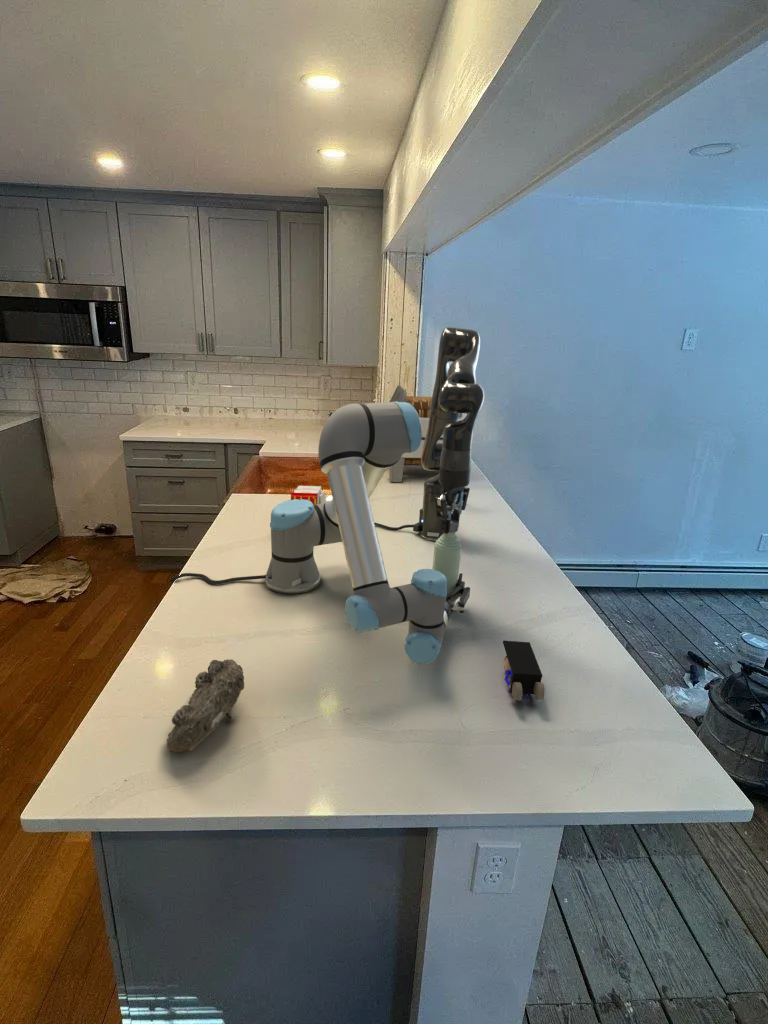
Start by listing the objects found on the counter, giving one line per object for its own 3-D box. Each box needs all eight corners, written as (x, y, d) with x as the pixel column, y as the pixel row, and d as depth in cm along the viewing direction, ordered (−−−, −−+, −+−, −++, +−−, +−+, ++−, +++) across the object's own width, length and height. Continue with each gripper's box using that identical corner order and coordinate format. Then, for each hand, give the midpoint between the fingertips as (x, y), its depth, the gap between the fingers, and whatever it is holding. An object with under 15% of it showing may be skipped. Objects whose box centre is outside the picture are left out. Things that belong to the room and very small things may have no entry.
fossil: (192, 660, 117) (244, 628, 112) (224, 691, 120) (276, 661, 115) (142, 746, 98) (202, 712, 93) (182, 779, 101) (242, 748, 96)
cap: (459, 533, 143) (460, 524, 143) (442, 532, 143) (443, 524, 142) (456, 526, 147) (457, 518, 147) (440, 526, 147) (440, 518, 146)
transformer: (382, 463, 289) (386, 382, 275) (445, 464, 293) (451, 384, 279) (390, 482, 257) (394, 392, 243) (460, 483, 261) (468, 394, 247)
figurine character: (543, 716, 114) (525, 665, 128) (550, 687, 111) (531, 638, 124) (510, 715, 114) (496, 664, 127) (516, 687, 111) (500, 637, 124)
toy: (326, 481, 223) (320, 494, 193) (326, 514, 225) (320, 532, 196) (296, 480, 222) (285, 493, 193) (295, 513, 225) (285, 531, 196)
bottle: (441, 614, 148) (450, 531, 140) (423, 603, 153) (431, 522, 145) (459, 607, 152) (469, 526, 144) (442, 596, 157) (450, 518, 149)
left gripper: (391, 623, 137) (410, 582, 158) (473, 637, 133) (481, 593, 154) (392, 596, 135) (411, 558, 156) (476, 609, 131) (484, 568, 152)
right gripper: (456, 457, 147) (450, 519, 153) (426, 468, 136) (422, 534, 142) (482, 463, 143) (475, 526, 149) (454, 474, 132) (448, 542, 138)
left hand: (446, 575), depth 155 cm, fingers closed on bottle, 7 cm apart
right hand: (449, 529), depth 145 cm, fingers closed on cap, 4 cm apart
